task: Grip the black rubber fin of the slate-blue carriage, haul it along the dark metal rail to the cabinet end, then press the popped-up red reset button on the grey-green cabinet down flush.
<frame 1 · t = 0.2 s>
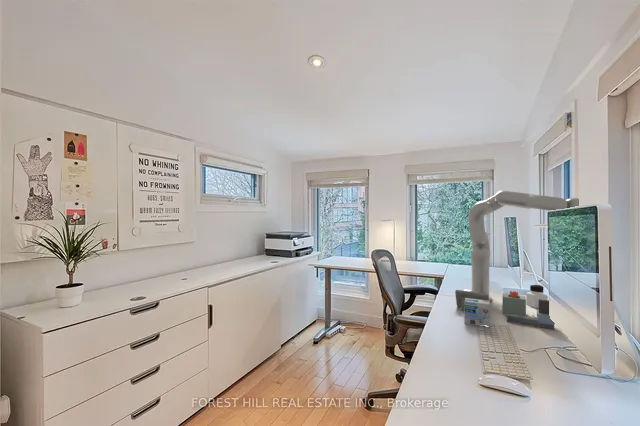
hand: (575, 253, 158), 31 cm above the table, fingers open, 9 cm apart
medicine bottle: (536, 306, 167), on the table
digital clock: (471, 311, 159), on the table
cabinet: (513, 313, 154), on the table
rail: (529, 324, 139), on the table
light bulb box: (476, 323, 141), on the table
carriage: (545, 311, 136), point 7 cm above the table, slide at 6.0 cm
gauge button: (513, 295, 154), point 9 cm above the table, slide at 0.0 cm
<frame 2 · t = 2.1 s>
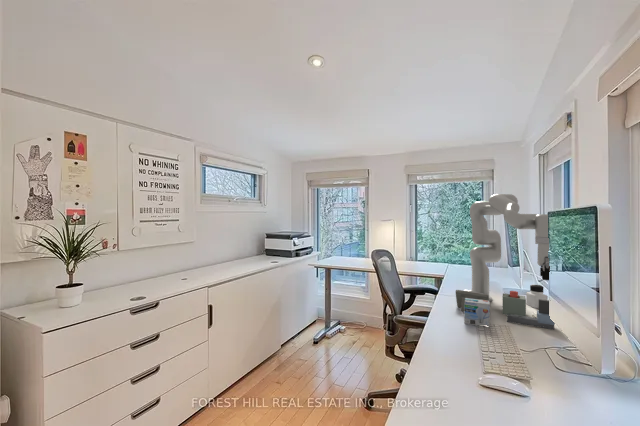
hand: (545, 278, 136), 22 cm above the table, fingers open, 9 cm apart
nothing on the table moved.
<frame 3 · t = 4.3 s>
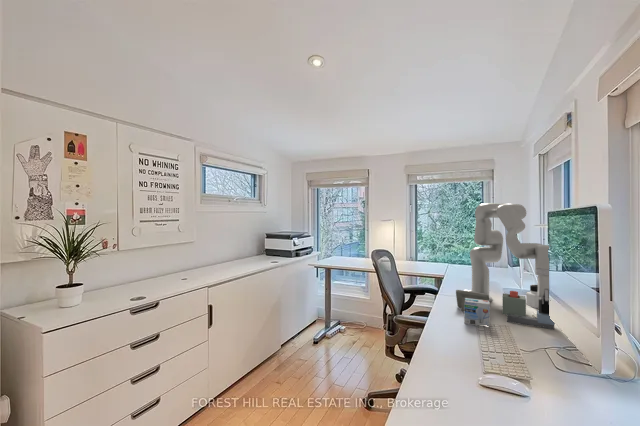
hand: (545, 311, 136), 7 cm above the table, fingers closed on carriage, 2 cm apart
carriage: (545, 311, 136), point 7 cm above the table, slide at 6.0 cm, touching gripper
everything else where it was.
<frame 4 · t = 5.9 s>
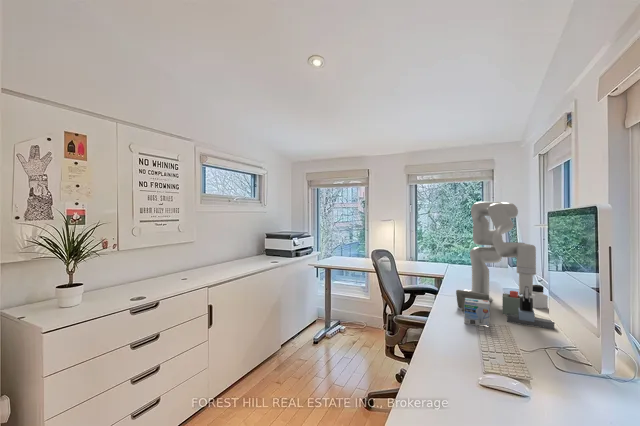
hand: (526, 309, 140), 7 cm above the table, fingers closed on carriage, 2 cm apart
carriage: (526, 308, 140), point 7 cm above the table, slide at -1.3 cm, touching gripper
everything else where it was.
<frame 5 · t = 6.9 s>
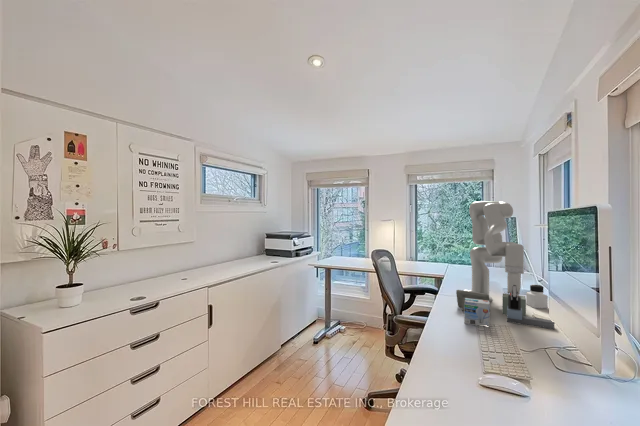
hand: (514, 307, 143), 7 cm above the table, fingers closed on carriage, 2 cm apart
carriage: (514, 306, 143), point 7 cm above the table, slide at -5.9 cm, touching gripper
everything else where it was.
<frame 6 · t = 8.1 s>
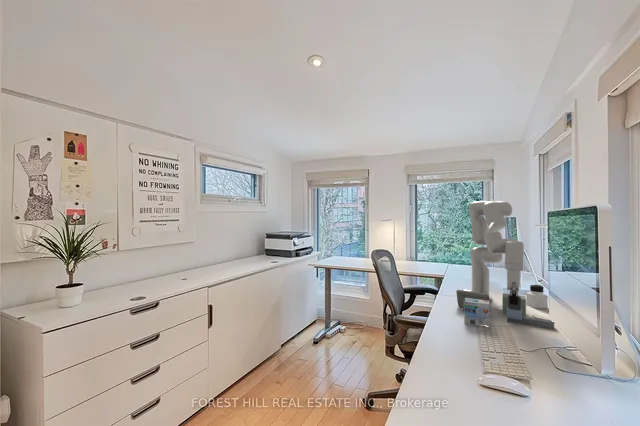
hand: (513, 301, 143), 9 cm above the table, fingers open, 9 cm apart
carriage: (514, 306, 143), point 7 cm above the table, slide at -6.0 cm
everything else where it was.
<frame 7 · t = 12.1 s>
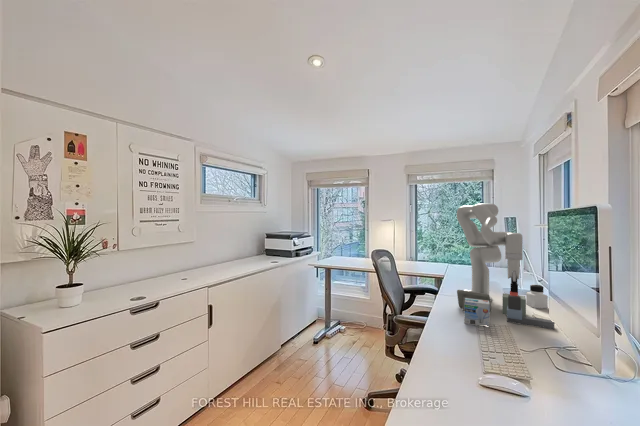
hand: (514, 291, 154), 11 cm above the table, fingers closed
gauge button: (513, 296, 154), point 9 cm above the table, slide at 0.0 cm, touching gripper
everything else where it was.
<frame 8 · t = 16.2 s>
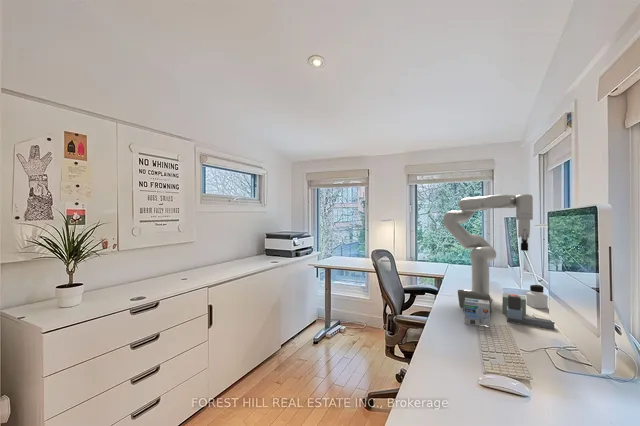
hand: (524, 250, 162), 32 cm above the table, fingers closed
gauge button: (513, 299, 154), point 7 cm above the table, slide at -1.9 cm
at the end: carriage slide at -6.0 cm; gauge button slide at -1.9 cm; the gripper is holding nothing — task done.
